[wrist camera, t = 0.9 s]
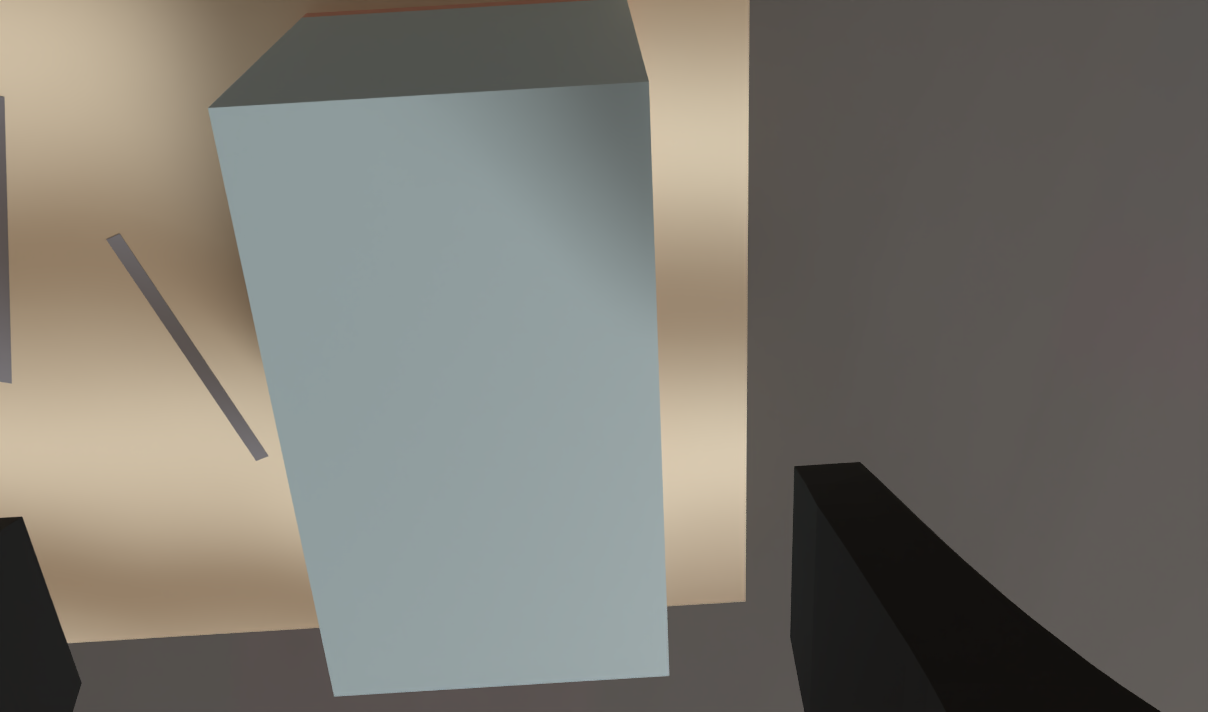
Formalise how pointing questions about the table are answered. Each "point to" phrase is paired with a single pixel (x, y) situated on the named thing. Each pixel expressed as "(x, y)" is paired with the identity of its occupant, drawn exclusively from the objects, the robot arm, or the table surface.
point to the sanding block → (461, 335)
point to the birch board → (225, 323)
